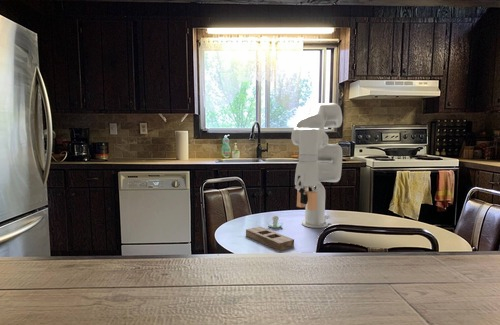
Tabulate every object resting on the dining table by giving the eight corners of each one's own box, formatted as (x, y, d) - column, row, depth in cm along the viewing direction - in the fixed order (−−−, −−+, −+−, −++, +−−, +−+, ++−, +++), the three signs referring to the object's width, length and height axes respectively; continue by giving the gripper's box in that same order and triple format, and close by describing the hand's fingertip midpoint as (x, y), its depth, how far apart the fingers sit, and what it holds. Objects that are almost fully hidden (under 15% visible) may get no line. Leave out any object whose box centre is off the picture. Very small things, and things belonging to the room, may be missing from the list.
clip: (301, 205, 142) (302, 189, 141) (316, 209, 135) (317, 192, 135) (296, 206, 140) (297, 190, 140) (311, 210, 134) (312, 193, 133)
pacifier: (267, 225, 164) (267, 229, 158) (267, 213, 164) (268, 216, 158) (281, 226, 165) (283, 229, 159) (282, 213, 164) (283, 216, 158)
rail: (259, 232, 152) (260, 226, 152) (293, 246, 134) (294, 239, 134) (245, 236, 147) (245, 229, 147) (279, 250, 130) (279, 243, 129)
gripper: (314, 157, 144) (313, 199, 146) (287, 158, 134) (286, 203, 136) (328, 158, 138) (326, 202, 140) (300, 160, 128) (299, 207, 130)
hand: (306, 202), depth 138 cm, fingers closed on clip, 3 cm apart
